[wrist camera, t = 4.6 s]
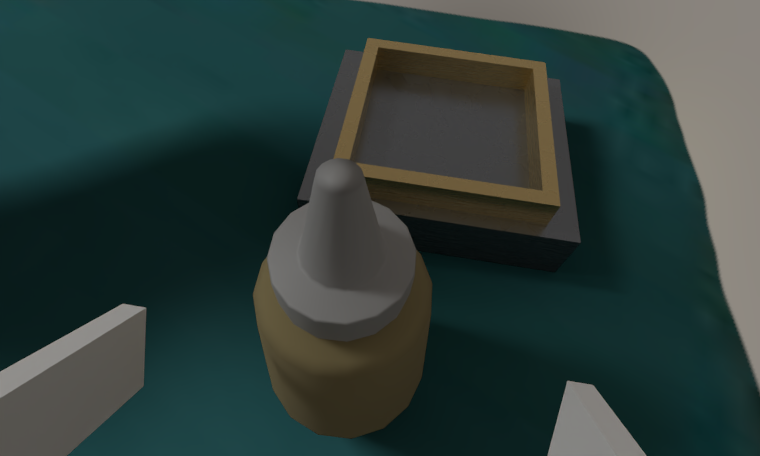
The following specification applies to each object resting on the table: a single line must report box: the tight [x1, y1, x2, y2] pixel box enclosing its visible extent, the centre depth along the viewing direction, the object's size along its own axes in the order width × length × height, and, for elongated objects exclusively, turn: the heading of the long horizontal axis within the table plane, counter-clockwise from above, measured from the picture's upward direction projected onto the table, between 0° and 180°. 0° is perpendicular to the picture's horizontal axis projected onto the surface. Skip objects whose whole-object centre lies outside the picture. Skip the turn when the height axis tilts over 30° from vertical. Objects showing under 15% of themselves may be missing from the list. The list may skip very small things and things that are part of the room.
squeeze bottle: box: [253, 158, 432, 439], centre depth 17 cm, size 8×8×18 cm
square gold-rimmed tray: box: [297, 38, 581, 272], centre depth 32 cm, size 18×16×6 cm
